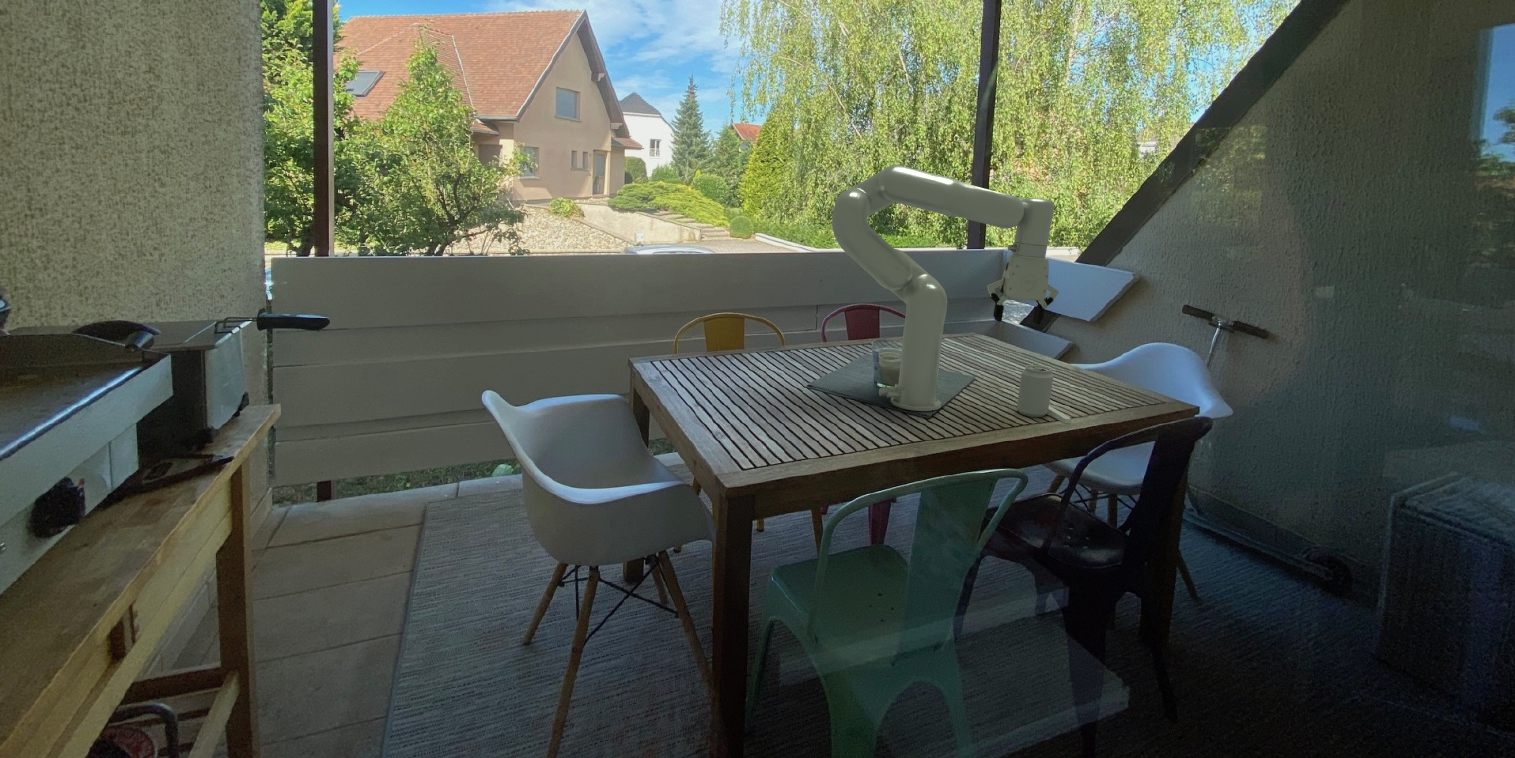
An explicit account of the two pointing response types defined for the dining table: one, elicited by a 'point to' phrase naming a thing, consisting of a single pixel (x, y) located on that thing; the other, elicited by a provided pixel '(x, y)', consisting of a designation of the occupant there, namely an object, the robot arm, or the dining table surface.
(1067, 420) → the stop strip
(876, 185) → the robot arm
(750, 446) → the dining table surface
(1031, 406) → the can
